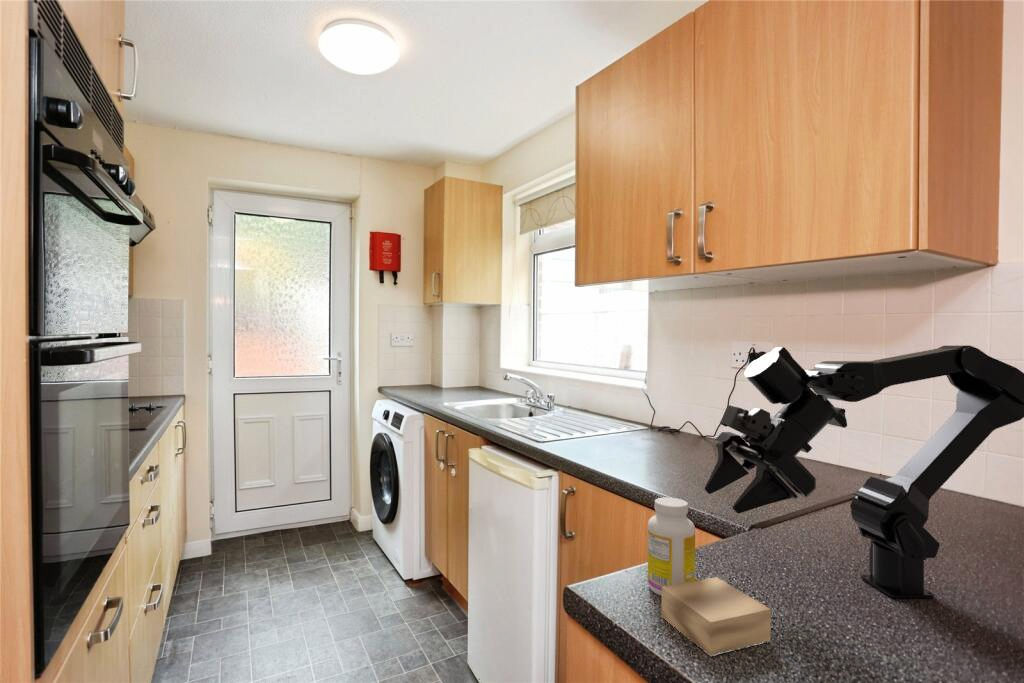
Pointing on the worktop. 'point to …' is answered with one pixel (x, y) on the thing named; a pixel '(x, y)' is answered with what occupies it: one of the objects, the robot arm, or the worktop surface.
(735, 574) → the worktop surface
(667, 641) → the worktop surface
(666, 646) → the worktop surface
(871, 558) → the robot arm
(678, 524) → the supplement bottle
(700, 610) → the oak block
